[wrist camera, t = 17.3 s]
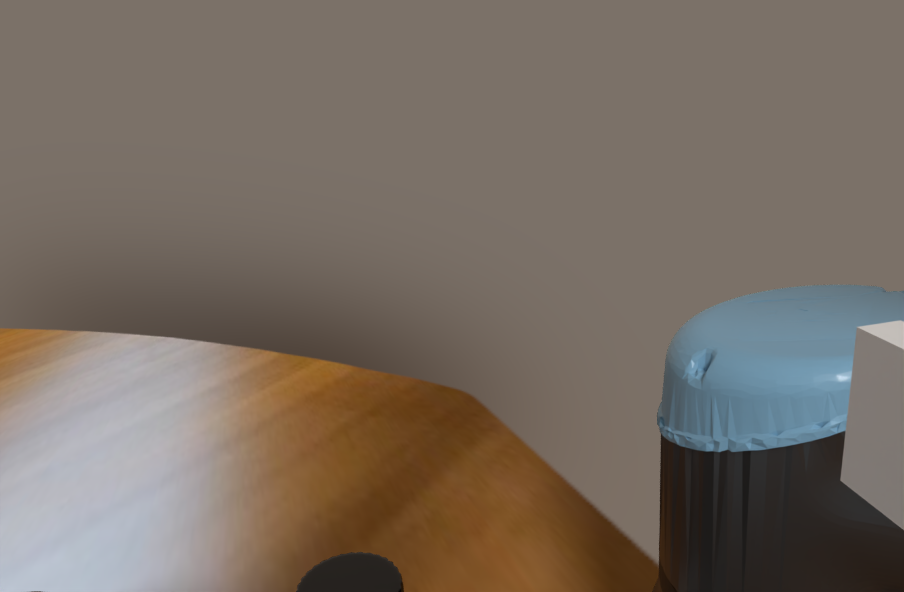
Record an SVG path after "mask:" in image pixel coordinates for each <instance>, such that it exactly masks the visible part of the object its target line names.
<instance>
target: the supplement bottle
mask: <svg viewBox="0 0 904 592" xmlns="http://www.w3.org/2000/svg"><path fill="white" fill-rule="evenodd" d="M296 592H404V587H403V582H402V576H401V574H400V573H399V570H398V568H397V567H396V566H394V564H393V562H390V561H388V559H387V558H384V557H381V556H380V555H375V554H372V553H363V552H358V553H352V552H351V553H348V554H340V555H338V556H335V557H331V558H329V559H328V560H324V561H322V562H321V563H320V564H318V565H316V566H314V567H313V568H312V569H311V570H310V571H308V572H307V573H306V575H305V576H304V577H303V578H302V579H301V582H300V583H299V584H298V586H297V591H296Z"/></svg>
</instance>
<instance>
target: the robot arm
mask: <svg viewBox="0 0 904 592" xmlns="http://www.w3.org/2000/svg"><path fill="white" fill-rule="evenodd" d="M657 424H658V426H659V428H660V432H661V472H660V473H661V474H660V538H659V577H658V579H657V582H656V584H655V586H654V588H653V591H652V592H904V291H899V292H897V291H893V292H886V291H885V290H884V289H883V288H882V287H875V286H861V285H813V286H801V287H790V288H782V289H775V290H769V291H763V292H759V293H754V294H749V295H745V296H741V297H737V298H734V299H732V300H729V301H725V302H722V303H720V304H717V305H715V306H712V307H710V308H708V309H706V310H704V311H702V312H701V313H699V314H697V315H695V316H694V317H693V318H691V319H690V320H689V321H687V322H686V323H685V324H684V325H683V326H682V327H681V328H680V329H679V330H678V332H677V333H676V334H675V336H674V337H673V339H672V341H671V343H670V345H669V348H668V350H667V355H666V361H665V373H664V384H663V395H662V402H661V404H660V406H659V409H658V413H657Z"/></svg>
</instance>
